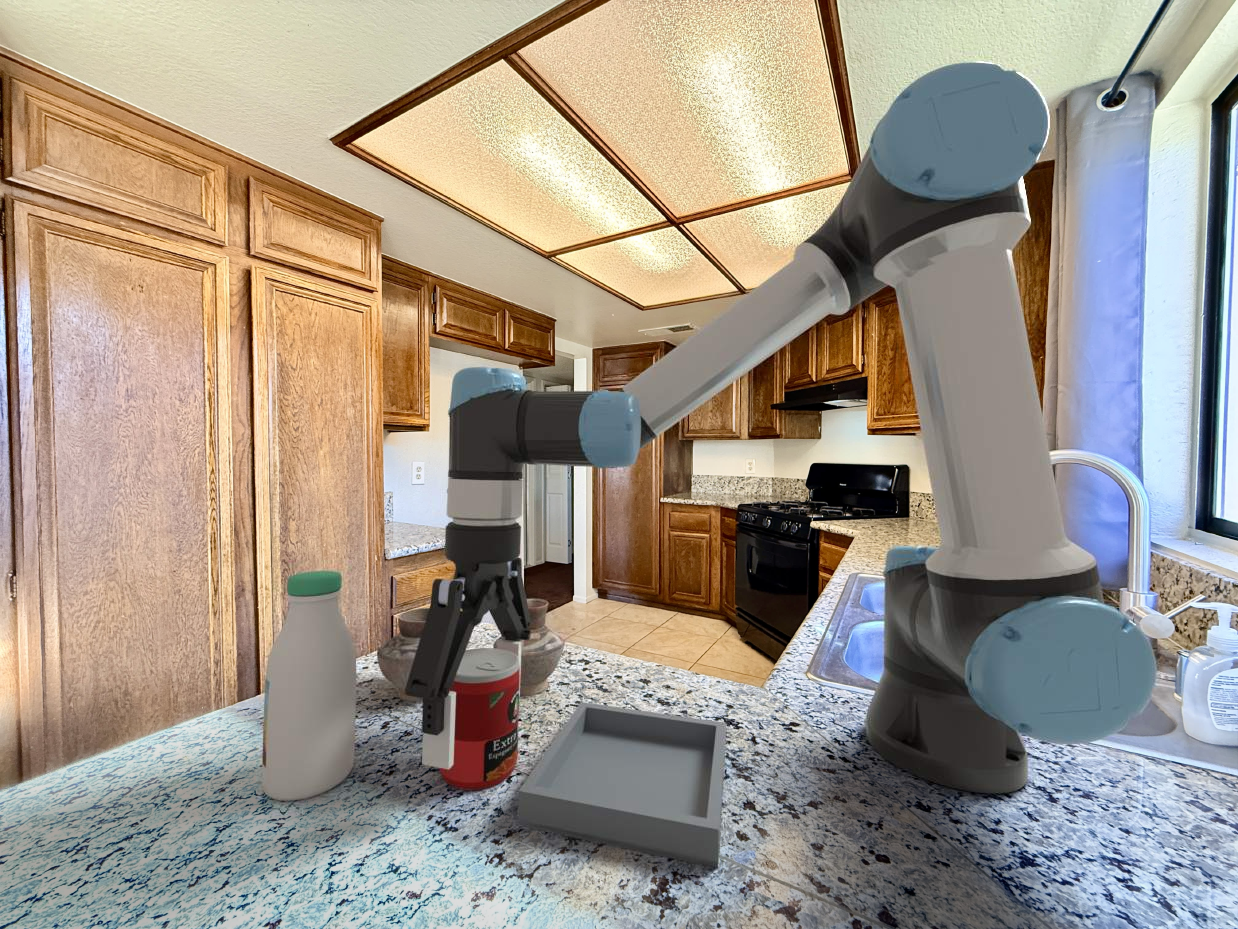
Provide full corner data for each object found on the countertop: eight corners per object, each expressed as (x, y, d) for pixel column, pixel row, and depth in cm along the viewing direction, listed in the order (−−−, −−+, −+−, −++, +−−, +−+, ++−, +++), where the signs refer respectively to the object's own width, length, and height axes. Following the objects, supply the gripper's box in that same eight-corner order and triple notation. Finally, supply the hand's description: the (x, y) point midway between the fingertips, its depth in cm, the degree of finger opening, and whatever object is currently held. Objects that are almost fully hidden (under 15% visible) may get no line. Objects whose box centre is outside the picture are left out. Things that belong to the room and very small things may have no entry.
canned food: (498, 798, 46) (501, 680, 47) (421, 785, 48) (424, 671, 48) (529, 752, 54) (531, 651, 54) (462, 742, 56) (464, 644, 56)
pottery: (565, 704, 65) (567, 613, 66) (363, 715, 61) (365, 618, 61) (561, 669, 77) (563, 592, 77) (389, 677, 72) (391, 595, 73)
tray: (725, 749, 55) (726, 722, 55) (718, 868, 39) (718, 829, 39) (580, 727, 59) (581, 702, 59) (517, 825, 43) (518, 790, 43)
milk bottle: (371, 762, 51) (376, 569, 52) (306, 811, 44) (312, 586, 44) (312, 749, 54) (317, 564, 54) (240, 794, 46) (246, 579, 46)
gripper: (506, 509, 64) (501, 674, 64) (364, 532, 40) (354, 796, 40) (561, 512, 62) (555, 681, 62) (446, 538, 38) (436, 815, 38)
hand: (477, 727), depth 51 cm, fingers open, 13 cm apart
